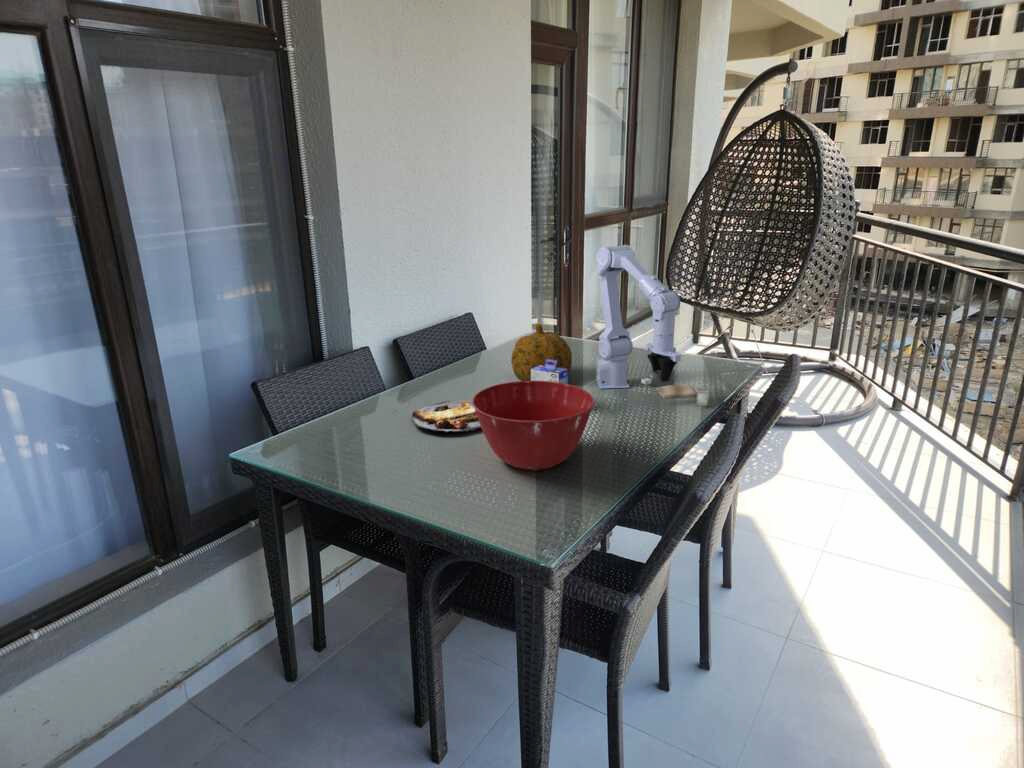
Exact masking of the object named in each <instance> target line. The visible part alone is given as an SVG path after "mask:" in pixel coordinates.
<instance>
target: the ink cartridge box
mask: <svg viewBox="0 0 1024 768" xmlns="http://www.w3.org/2000/svg"><path fill="white" fill-rule="evenodd" d="M548 362H553V363H554V365H550V364H547V363H548ZM556 364H557V360H551V359H547V360H546V363H545V366H542V365H540V366H537V367H534V368H532V369H531V381H551V382H559V383H564V384H569V380H568V379H569V372H568V369H563V368H556Z"/></svg>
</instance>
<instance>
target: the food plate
mask: <svg viewBox="0 0 1024 768" xmlns="http://www.w3.org/2000/svg"><path fill="white" fill-rule="evenodd" d="M457 418H459V419H458V421H453V420H455V419H457ZM410 420H411V421H412V423H413V424H414V425H415V426H416V427H419V428H421V429H425V430H431V431H432V432H441V433H448V432H452V433H457V432H469V431H471V432H473V431H476V430H477V429H479V428H481V425H480V423H479V420H478V417H477V414H476V411H475V408H474V406H473V404H472V400H451V401H450V400H447V401H446V400H445V401H442V402H437V403H434V404H431V405H430V404H429V405H427V406H424V407H422V408H419V409H418V410H414V411H412V415H411V418H410ZM435 427H437V428H435ZM481 429H482V428H481Z"/></svg>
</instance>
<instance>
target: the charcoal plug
mask: <svg viewBox="0 0 1024 768" xmlns="http://www.w3.org/2000/svg"><path fill="white" fill-rule="evenodd" d="M675 372H676V370H675V369H673V370H672V373H671V376H670V379H669V381H666V382H662V380H661V370H657V371H653V370H652V371H649V372H648V378H647V377H646V378H641V381H640V382H641V383H642V384H643V385H648V387H650V388H654V389H656V387H662V386H668V385H675V377H676V375H675V374H676V373H675Z"/></svg>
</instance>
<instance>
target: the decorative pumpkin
mask: <svg viewBox="0 0 1024 768" xmlns="http://www.w3.org/2000/svg"><path fill="white" fill-rule="evenodd" d="M534 328H535V332H533V333H531V334H529V335H525V336H522V337H520V338H518V339H517V341H516V342H515V344H514V348H513V350H512V354H511V360H510V361H511V366H512V371H513V373H514V375H515V376H516V378H517V379H518V380H519V381H531V369H532V368H534V367H537V366H540V365H542V366H545V363H546V360H547V359H551V360H557V364H556V368H563V369H568V373H570V371H571V368H572V364H573V362H572V359H573V355H572V354H573V353H572V350H571V348H570V346H569V345H568V343H567V342H566V341H567V340H564V338H562V337H561V336H560V335H559V334H558V333H556V332H553V331H547V332H544V330H543V325H542V324H541V323H536V324H534ZM547 364H550V365H554V363H553V362H548V363H547Z"/></svg>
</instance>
